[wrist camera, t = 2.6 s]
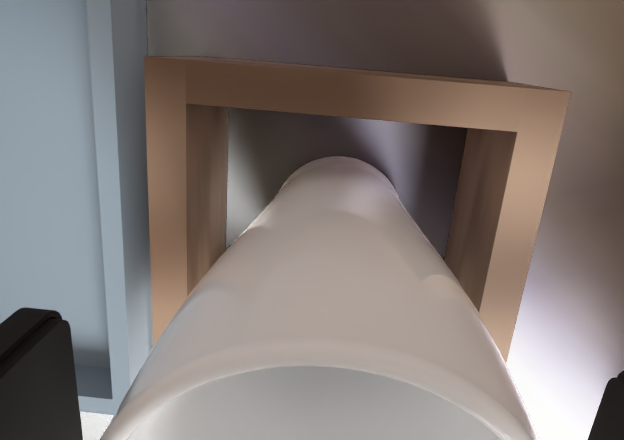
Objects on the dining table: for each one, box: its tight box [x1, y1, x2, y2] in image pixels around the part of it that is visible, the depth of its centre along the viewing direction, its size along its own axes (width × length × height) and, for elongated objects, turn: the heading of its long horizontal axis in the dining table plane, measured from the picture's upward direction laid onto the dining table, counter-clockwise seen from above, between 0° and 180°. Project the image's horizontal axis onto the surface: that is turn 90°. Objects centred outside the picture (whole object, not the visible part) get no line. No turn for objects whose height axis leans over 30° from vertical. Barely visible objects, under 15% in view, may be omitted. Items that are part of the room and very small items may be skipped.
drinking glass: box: [100, 156, 539, 440], centre depth 14 cm, size 7×7×15 cm
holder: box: [144, 56, 571, 363], centre depth 18 cm, size 12×12×6 cm
